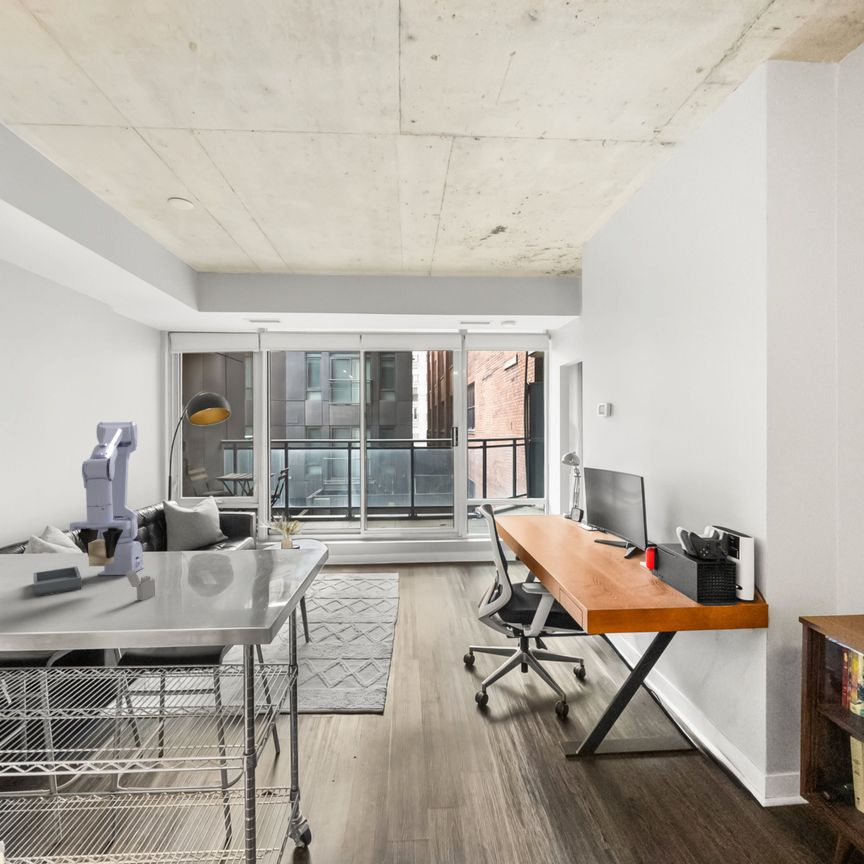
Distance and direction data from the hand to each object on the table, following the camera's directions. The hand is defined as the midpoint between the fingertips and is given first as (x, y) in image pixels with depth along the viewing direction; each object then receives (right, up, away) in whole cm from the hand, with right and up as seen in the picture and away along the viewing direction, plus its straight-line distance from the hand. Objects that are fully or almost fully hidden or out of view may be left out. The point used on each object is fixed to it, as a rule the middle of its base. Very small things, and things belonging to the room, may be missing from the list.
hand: (101, 557), depth 140 cm
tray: (-15, -9, +6) cm, 19 cm away
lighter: (+14, -9, -7) cm, 18 cm away
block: (0, -2, 0) cm, 2 cm away
